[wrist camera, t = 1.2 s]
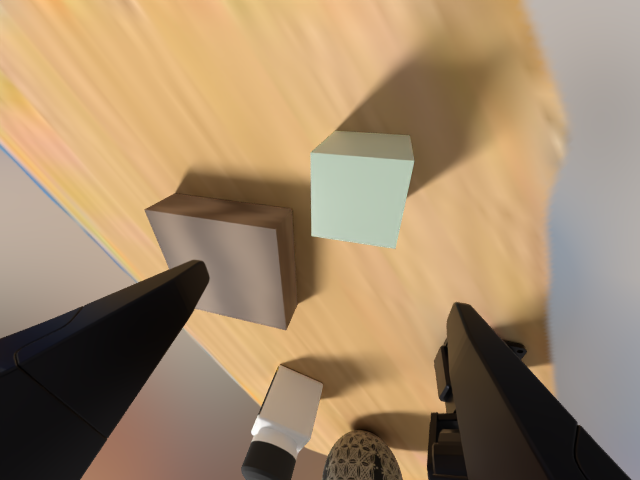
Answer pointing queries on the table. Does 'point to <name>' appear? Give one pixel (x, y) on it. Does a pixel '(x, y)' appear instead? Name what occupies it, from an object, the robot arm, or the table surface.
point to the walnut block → (233, 254)
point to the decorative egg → (361, 459)
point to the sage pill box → (360, 187)
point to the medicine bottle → (282, 426)
